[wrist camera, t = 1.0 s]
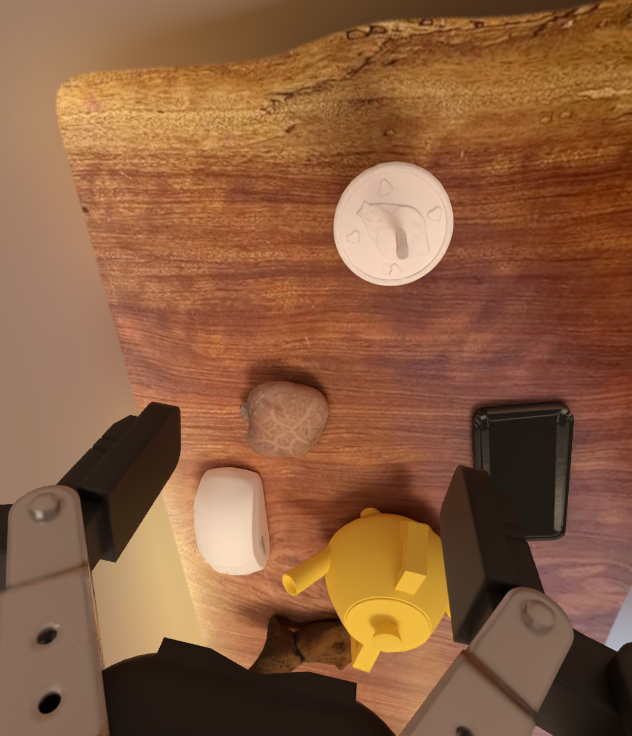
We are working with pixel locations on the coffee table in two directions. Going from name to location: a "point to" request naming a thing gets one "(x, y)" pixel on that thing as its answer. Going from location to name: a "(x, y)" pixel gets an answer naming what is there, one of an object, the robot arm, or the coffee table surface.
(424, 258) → the smoothie
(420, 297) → the coffee table surface
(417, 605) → the teapot
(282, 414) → the mushroom
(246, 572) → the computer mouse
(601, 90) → the coffee table surface
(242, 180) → the coffee table surface
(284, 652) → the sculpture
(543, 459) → the phone
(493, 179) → the coffee table surface
